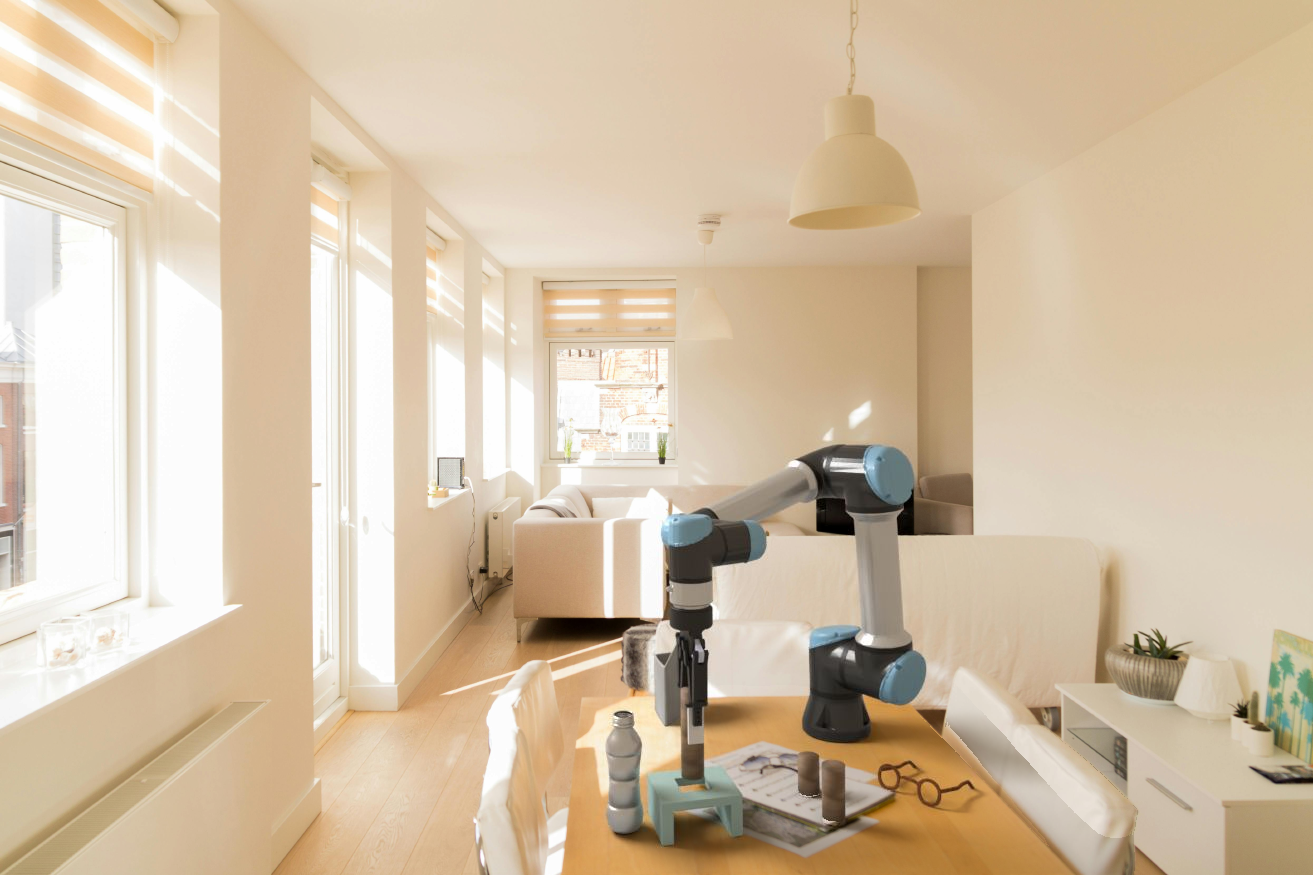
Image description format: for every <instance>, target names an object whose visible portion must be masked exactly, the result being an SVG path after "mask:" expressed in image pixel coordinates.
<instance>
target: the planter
mask: <svg viewBox="0 0 1313 875" xmlns="http://www.w3.org/2000/svg"><path fill="white" fill-rule="evenodd" d="M653 672H654V673H653V674H654V675H653V676H654V677H653V678H654V711H655V713H656V716H657V717H658V719H659V720H660V721H661V723H662V724H663V726H664V727H668V726H669V725H670V724H673V723H674V722H675V721H676V720H678V719H681V694H680V688H678V686H677V644H676V643H675V644H674V646H673V649H672V650H671V651H669V652H662V653H661V652H660V653H655V654H653Z"/></svg>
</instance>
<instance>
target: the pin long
mask: <svg viewBox="0 0 1313 875" xmlns="http://www.w3.org/2000/svg"><path fill="white" fill-rule="evenodd" d="M680 694H681V717H680V752H681V753H680V759H681V760H680V761H681V762H680V764H681V765H680V766H681V767H680V770H681V776H682V777H683V778H684V779H687V780H699V779H702V778H703V777H704V767H705V742H704V743H700V744H690V745H689V744H688V715H687V708H686V707H685V704H689V690H688V686H687V687H683V688H681V690H680Z"/></svg>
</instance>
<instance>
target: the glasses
mask: <svg viewBox="0 0 1313 875" xmlns="http://www.w3.org/2000/svg"><path fill="white" fill-rule="evenodd" d="M907 765H910V766H911V768H913V769H915V768H917V765H916V763H914V762H913V761H912V760H909V759H908V760H906V761H903V762H901V763H899V764H894V765H893V764H890V763H883V764H881V765H880V766H879V768H878V770H877V779H878V783H879V785H880V786H881V787H882V788H883V789H884V790H886V789H887V790H886V791H888V790H893V791H894V792H895V791H897V790H898V788H899V787H900V784H901V781H902V780H905V781H908V782H909V783H912V784H914V785H916V791H917V797H918V799H919V801H920V802H921V803H922V805H924V806H927V807H929V808H935V807H938V806H939V805H940V803H941V801H942V794H946V793H951V792H956V791H959V790H960V789H962V787H964V786H966V785H967V786H969V788H970V789H971V790H974V789H975V786H974V785H973V783H972V781H970V780H969V779H968V780H967V779H966V780H964V781H962V782H959V784H958V785H956V786H952V787H947V788H941V787H940V785H939V784H938V782H936V781H935V780H933V779H931V778H928V777H927V778H922V779H920V780H919V781H917V780H916V779H914V778H912V777H909V776H907V775H901V773H900V771H899V769H901V768H903V767H905V766H907ZM892 770H893V771H894V773H895V775H896V783H895V785H894V786H892V787H891V786H887V785H886V784H885V783H884V782H883V779H882V772H887V771H892ZM926 782H927V783H930V784H931V785H933V786H934V788H935V790H936V791H937V792H936V793H937V798H936V800H935V802H933V803H932V802H928V801H926V800H925V799H924V798H923V796H922V790H921V789H922V785H923V784H924V783H926ZM893 791H892V792H893Z"/></svg>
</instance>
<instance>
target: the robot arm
mask: <svg viewBox="0 0 1313 875" xmlns="http://www.w3.org/2000/svg"><path fill="white" fill-rule="evenodd" d="M914 487H915V473H914V469H913V466H912V464H911V461H910V460H909V458H908V456H907V455H905V454H904V453H903V451H902V450H900V449H899V448H897V447H894V446H888V445H881V444H844V443H842V444H832V445H828V446H824V447H821V448H819V449H817V450H814V451H810V452H809V453H807V454H805V455H804V454H803V455H801V456H800V457H797V458H796V459H793V460H791V461H789V462H788V463H786V465H785V467H784V468H783V470H780V471H779V472H776V473H775V474H772V475H770V476H768V477H766V478H764V479H761V480H760V481H758V482H754V483H752V484H751V485H748V486H747V487H745V488H742V489H740V490H738V491H736V492H734V493H732V494H729V495H727V496H726V497H723V498H720V499H719V500H717V501H715V502H712V503H710V504H707V505H706V506H704V507H701V508H699V509H697V510H694V511H693V512H691V513H687V514H686V513H683V512H682V513H673V514H670V515H669V516H667V518H665V520H664V521H663V522H662V525H661V529H660V537H661V542H662V543H663V545H664V546H665V547H666V548H667V550H668V551H667V552H668V579H669V583H668V584H669V585H668V586H666V588H665V590H666V592H667V593H669V602H670V604H671V605H670V606H669V609H668V610H669V626H670V628H672V629H673V630H676V632H675V634H674V635H675V640H676V641H675V645H676V644H677V686H678V688H680V690H681V688H683V687H687V686H688V690H689V704H685V707H686V708H687V715H688V744H689V745H690V744H700V743H704V744H705V710H704V708H705V707H708V704H709V701H708V700H709V699H708V698H709V695H708V692H709V691H708V687H709V686H708V681H709V680H708V679H709V678H708V675H709V674H708V673H709V672H708V671H709V670H708V666H709V664H708V663H709V657H710V656H709V655H710V652H709V650H708V649H706V640H705V638H703V632H704V631H705V630H708V629H710V628H712V626H713V624H714V623H713V622H714V621H713V620H714V619H713V618H714V615H713V614H714V613H713V612H714V611H713V609H714V608H713V606H712V605H711V603H713V601H714V590H713V588H714V583H713V582H714V580H713V568H715V567H716V568H717V567H721V566H723V567H724V566H730V565H736V564H747V563H749V562H750V563H751V562H752V561H753V562H754V561H757V560H759V559H760V558H762V556H764V554H765V553H766V549H767V545H768V544H767V543H768V542H767V534H766V531H765V529H764V528H763V526H762V525H761V524H760V522H763V521H764V520H767V519H768V518H770V517H771V516H772V517H773V516H774V515H777V514H778V513H780V512H782V511H785V510H787V509H788V508H790V507H792V506H794V505H796V504H798V503H802V504H808V503H812V502H813V501H815V500H819V499H823V498H824V499H826V498H827V499H828V498H829V499H832V498H833V499H843V500H845V502H844V504H845V512H846V513H847V514H848V515H849V516H850V517H851V518H853V524H854V525H853V526H854V535H855V536H854V538H855V551H856V552H855V553H856V564H857V565H856V566H857V580H858V582H857V583H858V594H859V596H858V597H859V606H860V607H859V609H860V620H861V621H860V622H861V627H860V626H858V625H852V624H851V625H849V624H838V625H837V624H836V625H827V626H822V627H821V626H820V627H817V628H815V629H814V630H812V631H811V632H810V635H809V646H808V664H809V668H808V669H809V670H808V671H809V696H808V698H807V702H806V704H805V707H804V710H803V714H802V718H801V721H802V723H801V724H802V730H803V732H804V733H806V734H807V735H808V736H811V737H812V738H815V739H819V740H822V741H826V742H832V743H833V742H835V743H837V742H838V743H851V742H857V741H861V740H862V741H863V740H864V739H866V738H868V737H870V735H871V732H872V720H871V718H870V715H869V712H868V710H867V706H866V703H865V700H864V696H867V697H869V698H872V699H874V700H875V699H876V700H878V701H881V702H882V703H884V704H891V705H895V706H898V707H899V706H906V705H907V704H910V703H911V702H912V701H914V700H915V699H916V698H917V697H918V695H919V693H920V691H921V690H922V689H923V687H924V684H925V681H926V677H927V662H926V659H925V657H924V656H923V654H921V653H920V652H919V651H918V650H914V648H913V647H914V645H913V644H914V643H913V636H912V635H911V633H909V632H908V630H906V629H905V627H904V626H905V625H904V622H905V621H904V610H903V597H902V596H903V594H902V581H901V579H902V578H901V566H900V564H901V562H900V552H899V551H900V550H899V548H900V547H899V535H898V533H899V532H898V520H897V517H898V516H899V515H900V514H901V512H902V511H904V503H905V502H907V501H908V500H909V499H910V498H911V495H912V490H914Z"/></svg>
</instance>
